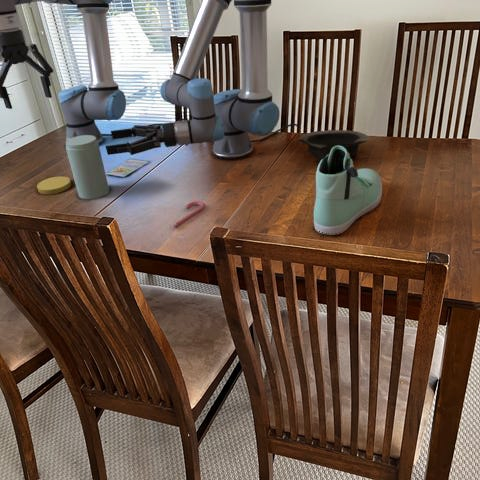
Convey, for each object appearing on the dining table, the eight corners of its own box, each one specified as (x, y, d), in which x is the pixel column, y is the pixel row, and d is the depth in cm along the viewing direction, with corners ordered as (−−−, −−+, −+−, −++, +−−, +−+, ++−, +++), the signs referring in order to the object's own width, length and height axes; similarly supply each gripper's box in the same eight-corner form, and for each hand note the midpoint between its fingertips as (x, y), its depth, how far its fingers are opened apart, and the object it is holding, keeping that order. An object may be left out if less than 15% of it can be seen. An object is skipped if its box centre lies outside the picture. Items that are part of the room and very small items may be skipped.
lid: (30, 192, 165) (29, 187, 164) (54, 178, 173) (53, 174, 173) (55, 196, 160) (53, 191, 160) (78, 182, 169) (77, 178, 168)
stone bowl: (326, 174, 159) (325, 147, 154) (286, 157, 179) (284, 133, 175) (384, 156, 168) (385, 130, 163) (340, 142, 188) (339, 118, 184)
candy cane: (161, 224, 139) (160, 219, 138) (194, 202, 149) (194, 198, 148) (177, 229, 135) (176, 224, 135) (209, 207, 145) (209, 202, 145)
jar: (115, 190, 161) (103, 138, 151) (89, 202, 155) (74, 148, 145) (98, 183, 167) (86, 132, 157) (72, 194, 161) (58, 141, 151)
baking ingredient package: (104, 172, 173) (130, 158, 184) (104, 174, 173) (130, 159, 184) (124, 176, 169) (148, 161, 181) (124, 177, 169) (149, 162, 181)
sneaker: (389, 187, 148) (396, 123, 138) (356, 242, 123) (361, 168, 112) (346, 181, 154) (350, 119, 144) (306, 232, 129) (307, 161, 118)
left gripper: (-29, 38, 131) (-3, 114, 142) (52, 24, 146) (70, 94, 157) (-41, 36, 135) (-15, 111, 146) (40, 23, 151) (58, 91, 162)
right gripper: (177, 159, 145) (107, 169, 144) (177, 132, 166) (116, 139, 165) (173, 136, 141) (101, 145, 140) (174, 110, 162) (111, 118, 161)
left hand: (29, 102), depth 152 cm, fingers open, 13 cm apart
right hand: (109, 142), depth 152 cm, fingers open, 13 cm apart
